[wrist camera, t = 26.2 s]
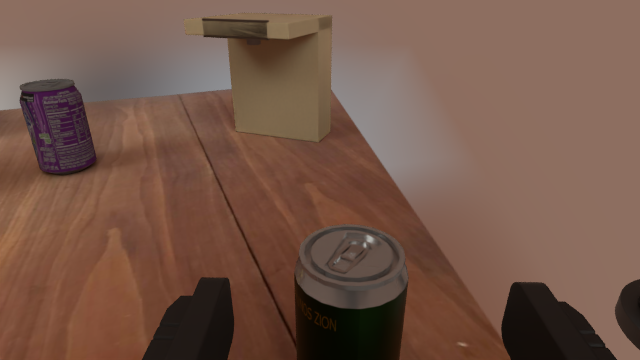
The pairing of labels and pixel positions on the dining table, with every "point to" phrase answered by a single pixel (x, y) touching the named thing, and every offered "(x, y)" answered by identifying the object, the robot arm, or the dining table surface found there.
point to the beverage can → (57, 125)
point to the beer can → (350, 295)
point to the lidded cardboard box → (276, 71)
